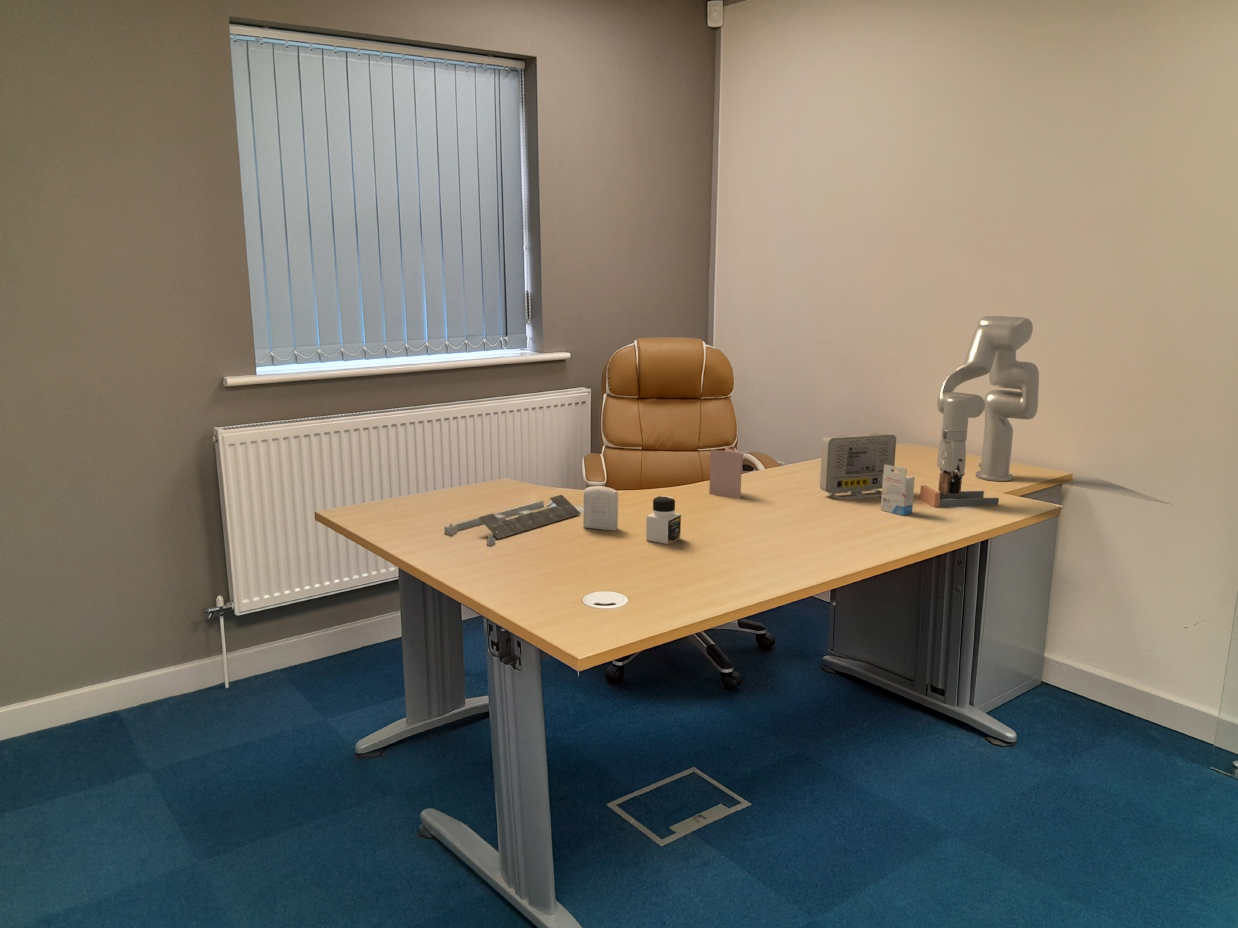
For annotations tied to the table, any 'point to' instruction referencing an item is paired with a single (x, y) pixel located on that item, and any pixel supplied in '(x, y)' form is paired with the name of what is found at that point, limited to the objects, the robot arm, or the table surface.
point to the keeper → (946, 483)
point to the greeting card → (725, 473)
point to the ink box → (897, 491)
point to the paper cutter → (521, 518)
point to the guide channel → (949, 500)
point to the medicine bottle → (663, 521)
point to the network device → (856, 463)
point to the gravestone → (600, 508)
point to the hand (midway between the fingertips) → (949, 490)
